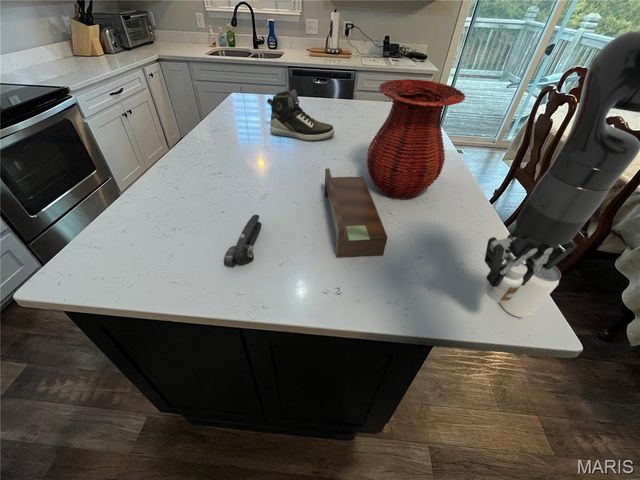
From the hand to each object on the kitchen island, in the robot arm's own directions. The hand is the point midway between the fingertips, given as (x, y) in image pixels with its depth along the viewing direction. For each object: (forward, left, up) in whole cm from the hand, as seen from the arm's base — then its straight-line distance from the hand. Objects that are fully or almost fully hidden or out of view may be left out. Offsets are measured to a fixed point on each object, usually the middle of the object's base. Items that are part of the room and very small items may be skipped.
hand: (505, 282), depth 53 cm
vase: (+51, +2, -13) cm, 52 cm away
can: (+3, -10, -13) cm, 16 cm away
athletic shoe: (+93, +32, -13) cm, 99 cm away
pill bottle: (0, 0, -4) cm, 4 cm away
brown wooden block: (+34, +21, -12) cm, 42 cm away
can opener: (+26, +49, -13) cm, 57 cm away
